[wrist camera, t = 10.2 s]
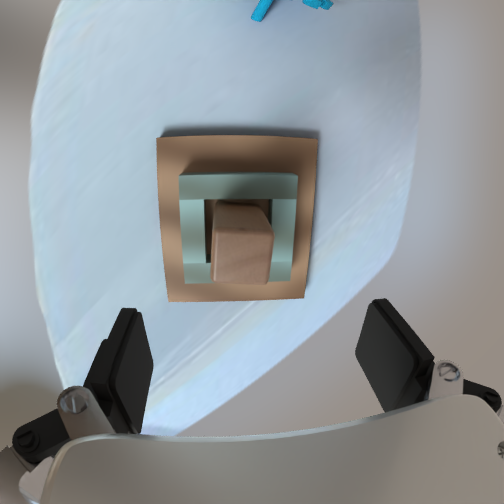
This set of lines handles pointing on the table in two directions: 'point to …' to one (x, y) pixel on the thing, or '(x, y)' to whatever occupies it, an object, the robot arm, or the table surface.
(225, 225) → the wooden block
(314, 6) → the gear
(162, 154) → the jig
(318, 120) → the table surface
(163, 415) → the table surface
